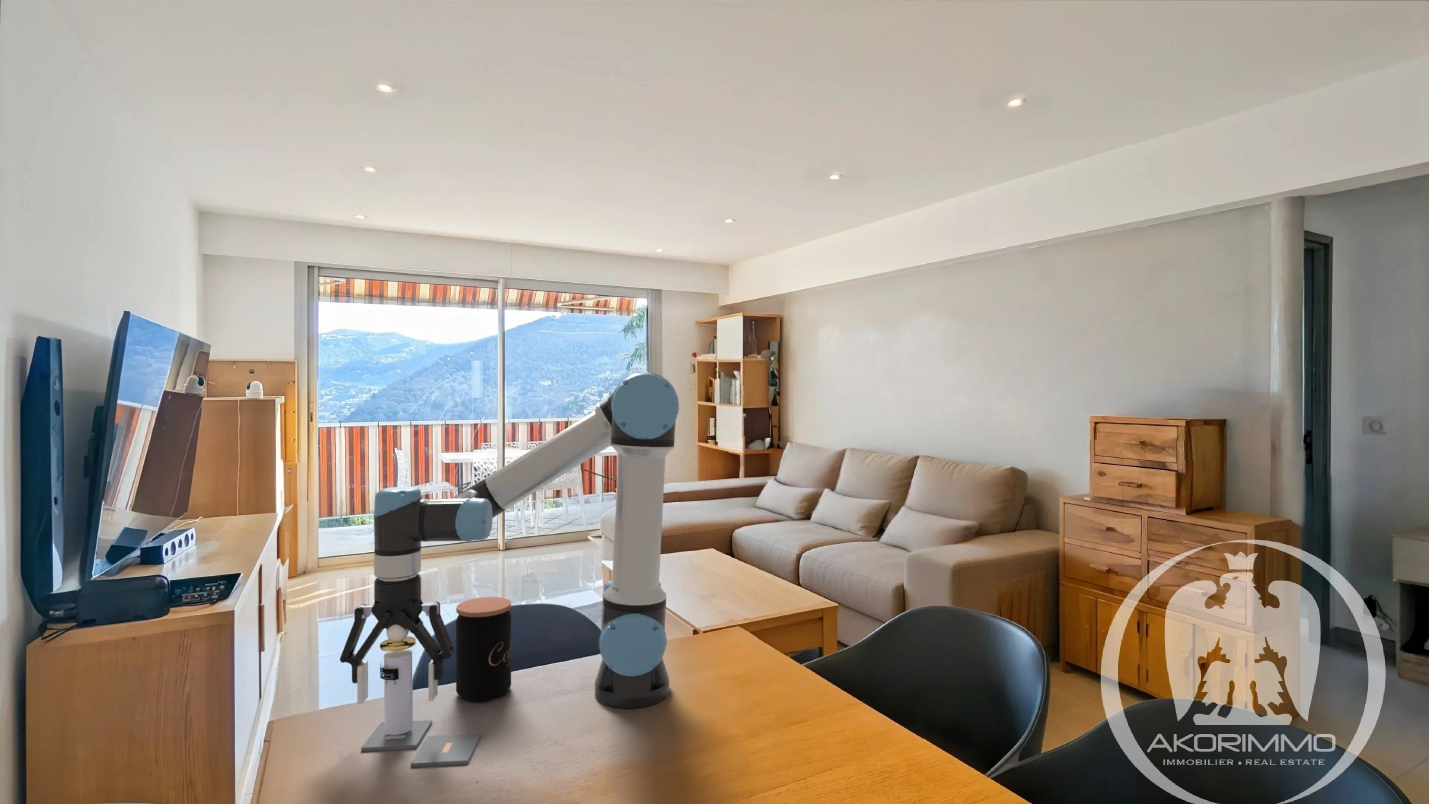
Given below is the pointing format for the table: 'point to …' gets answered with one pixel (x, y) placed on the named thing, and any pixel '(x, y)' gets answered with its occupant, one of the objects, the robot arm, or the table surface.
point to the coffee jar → (483, 649)
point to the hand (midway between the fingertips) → (398, 699)
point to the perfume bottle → (397, 680)
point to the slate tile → (446, 750)
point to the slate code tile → (397, 737)
